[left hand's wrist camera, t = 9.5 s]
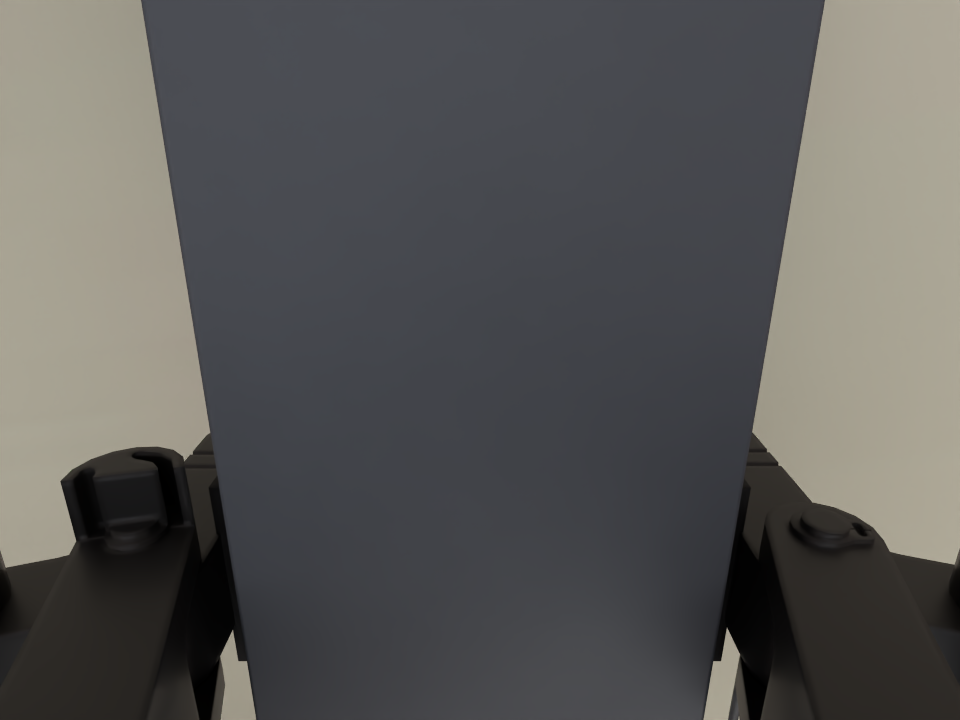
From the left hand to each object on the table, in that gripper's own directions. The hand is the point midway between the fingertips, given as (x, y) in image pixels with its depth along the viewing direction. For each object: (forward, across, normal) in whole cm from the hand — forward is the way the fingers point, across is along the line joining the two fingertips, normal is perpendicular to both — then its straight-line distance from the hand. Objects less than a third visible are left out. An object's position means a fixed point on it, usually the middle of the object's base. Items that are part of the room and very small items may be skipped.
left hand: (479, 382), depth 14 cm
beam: (+1, 0, -26) cm, 26 cm away
